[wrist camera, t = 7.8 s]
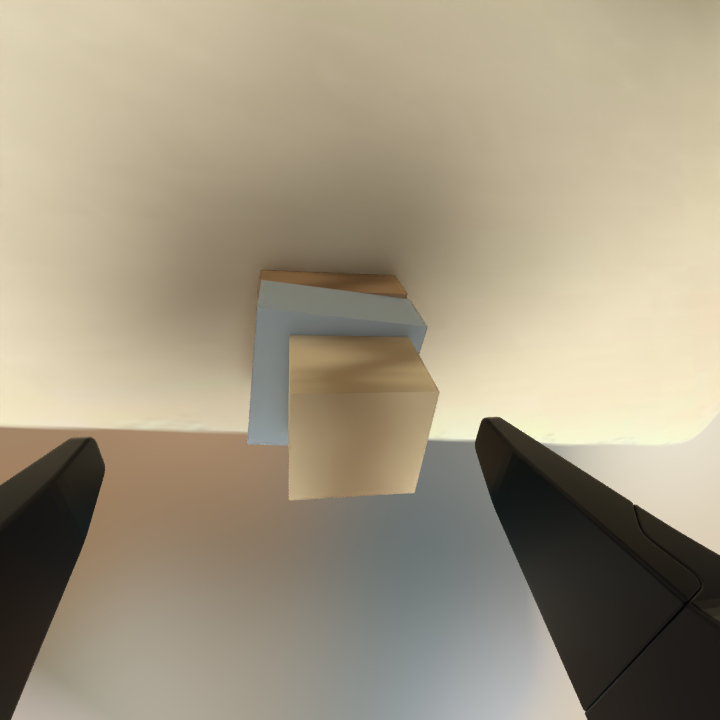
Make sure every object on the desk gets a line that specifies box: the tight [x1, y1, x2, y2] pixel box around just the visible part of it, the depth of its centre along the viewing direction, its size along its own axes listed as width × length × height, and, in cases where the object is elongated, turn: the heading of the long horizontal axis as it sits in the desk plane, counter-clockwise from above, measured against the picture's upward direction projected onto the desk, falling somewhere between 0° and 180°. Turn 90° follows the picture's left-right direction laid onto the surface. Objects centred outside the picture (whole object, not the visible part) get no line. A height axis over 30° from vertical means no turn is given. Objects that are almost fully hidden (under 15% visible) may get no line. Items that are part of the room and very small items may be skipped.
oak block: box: [288, 335, 439, 500], centre depth 16 cm, size 5×5×4 cm
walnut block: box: [258, 270, 407, 299], centre depth 22 cm, size 7×7×3 cm
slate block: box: [247, 280, 427, 446], centre depth 19 cm, size 7×7×3 cm
